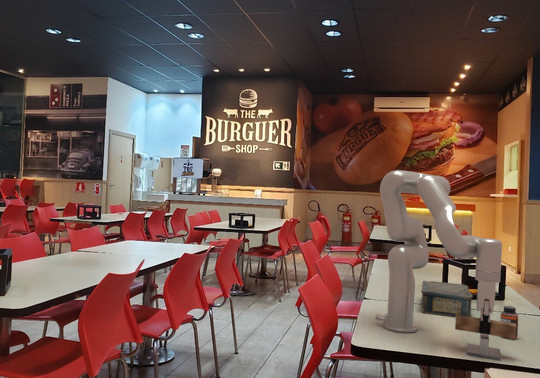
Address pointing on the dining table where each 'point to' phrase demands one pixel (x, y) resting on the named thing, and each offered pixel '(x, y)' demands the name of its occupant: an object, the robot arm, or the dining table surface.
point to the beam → (496, 327)
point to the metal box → (446, 299)
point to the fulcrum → (484, 349)
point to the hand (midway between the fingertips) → (484, 331)
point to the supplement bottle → (510, 317)
